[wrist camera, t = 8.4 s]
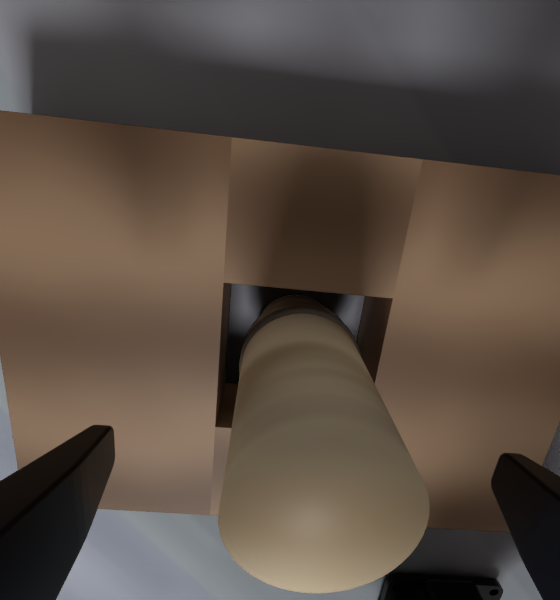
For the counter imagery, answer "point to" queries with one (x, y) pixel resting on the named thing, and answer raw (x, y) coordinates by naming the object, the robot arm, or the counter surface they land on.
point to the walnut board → (270, 273)
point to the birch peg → (315, 459)
